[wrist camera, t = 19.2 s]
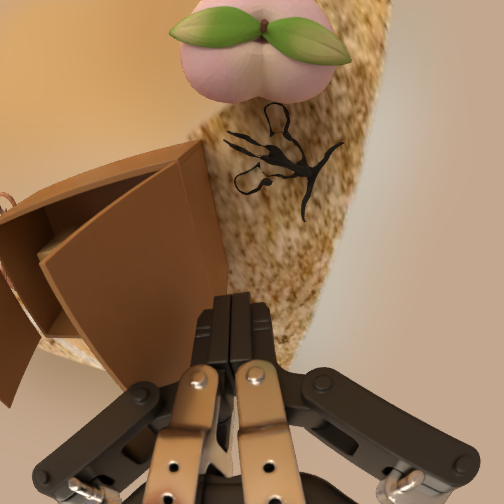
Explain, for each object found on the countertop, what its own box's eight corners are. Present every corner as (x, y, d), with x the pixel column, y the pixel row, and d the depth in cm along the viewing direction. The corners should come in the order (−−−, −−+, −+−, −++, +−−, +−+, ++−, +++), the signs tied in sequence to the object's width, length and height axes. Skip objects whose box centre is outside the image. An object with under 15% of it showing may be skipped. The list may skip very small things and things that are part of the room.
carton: (201, 139, 20) (94, 239, 5) (228, 265, 26) (220, 448, 11) (33, 193, 21) (-83, 290, 6) (73, 286, 27) (4, 406, 12)
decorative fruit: (313, 16, 15) (362, -34, 6) (314, 107, 19) (369, 109, 10) (192, 15, 15) (159, -40, 6) (193, 107, 19) (154, 107, 10)
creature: (214, 177, 23) (300, 215, 23) (190, 191, 18) (299, 240, 18) (248, 92, 19) (341, 132, 19) (232, 81, 14) (353, 132, 14)
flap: (172, 162, 12) (177, 161, 12) (221, 337, 18) (226, 336, 18) (37, 263, 5) (44, 262, 5) (190, 456, 11) (195, 457, 11)
